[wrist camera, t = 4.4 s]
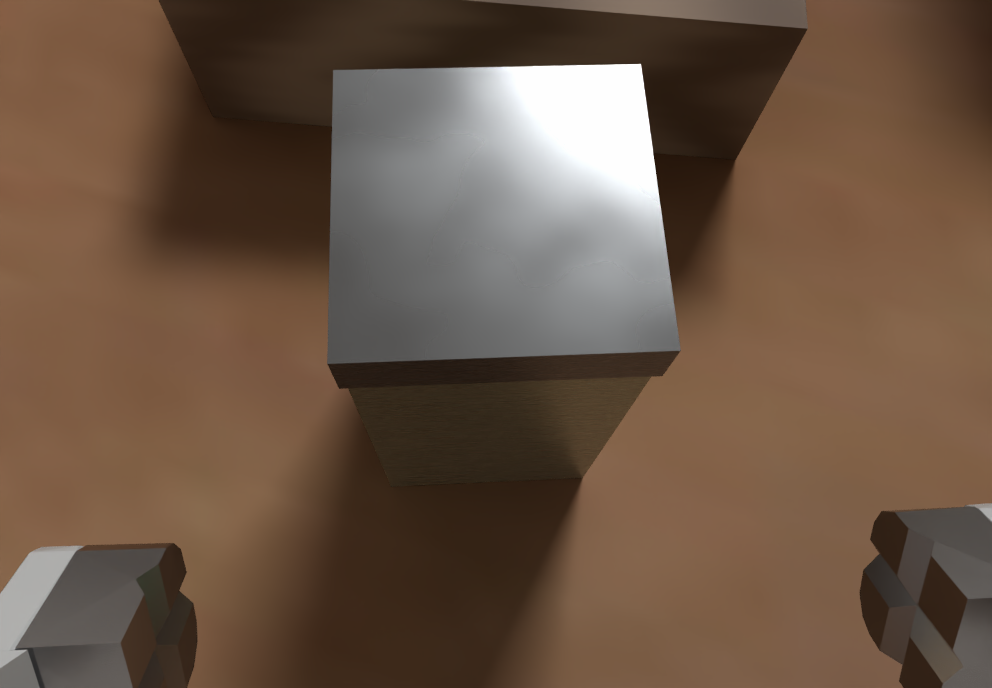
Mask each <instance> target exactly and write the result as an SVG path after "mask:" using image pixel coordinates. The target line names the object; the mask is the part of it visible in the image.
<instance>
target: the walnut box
mask: <svg viewBox="0 0 992 688" xmlns="http://www.w3.org/2000/svg"><path fill="white" fill-rule="evenodd" d="M159 2H160V4H161V6H162V9H163V11H164V13H165V15H166V17H167V19H168V21H169V24H170V26H171V28H172V30H173V32H174V34H175V36H176V39H177V41H178V43H179V45H180V47H181V49H182V51H183V53H184V56H185V58H186V60H187V62H188V64H189V66H190V68H191V71H192V73H193V75H194V77H195V79H196V81H197V83H198V86H199V88H200V90H201V92H202V94H203V96H204V98H205V101H206V103H207V105H208V107H209V109H210V111H211V113H212V116H213V117H219V118H232V119H244V120H256V121H268V122H281V123H293V124H305V125H317V126H329V127H332V106H333V70H367V69H420V68H473V67H526V66H579V65H632V64H641V70H642V77H643V84H644V91H645V98H646V106H647V113H648V120H649V127H650V134H651V141H652V149H653V153H659V154H671V155H683V156H696V157H708V158H720V159H732V160H736V158H737V156H738V154H739V153H740V151H741V149H742V147H743V145H744V143H745V142H746V140H747V138H748V136H749V134H750V133H751V131H752V129H753V127H754V125H755V123H756V122H757V120H758V118H759V116H760V114H761V113H762V111H763V109H764V107H765V105H766V103H767V102H768V100H769V98H770V96H771V94H772V93H773V91H774V89H775V87H776V85H777V83H778V82H779V80H780V78H781V76H782V74H783V73H784V71H785V69H786V67H787V65H788V63H789V62H790V60H791V58H792V56H793V54H794V53H795V51H796V49H797V47H798V45H799V43H800V42H801V40H802V38H803V36H804V34H805V33H806V31H807V29H808V27H807V14H806V1H805V0H159Z"/></svg>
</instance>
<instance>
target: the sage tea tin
mask: <svg viewBox="0 0 992 688" xmlns="http://www.w3.org/2000/svg"><path fill="white" fill-rule="evenodd" d="M680 351H681V350H680V343H679V336H678V329H677V321H676V314H675V307H674V300H673V293H672V285H671V278H670V271H669V264H668V257H667V249H666V242H665V235H664V228H663V221H662V213H661V206H660V199H659V192H658V185H657V177H656V170H655V163H654V156H653V149H652V141H651V134H650V127H649V120H648V113H647V106H646V98H645V91H644V84H643V77H642V70H641V64H632V65H579V66H526V67H473V68H420V69H367V70H333V106H332V157H331V207H330V258H329V308H328V359H327V364H328V366H329V368H330V370H331V373H332V375H333V377H334V379H335V381H336V383H337V385H338V387H339V389H343V388H348V389H349V392H350V394H351V396H352V398H353V401H354V403H355V405H356V407H357V410H358V412H359V414H360V417H361V419H362V421H363V423H364V426H365V428H366V430H367V433H368V435H369V437H370V439H371V442H372V444H373V446H374V449H375V451H376V453H377V455H378V458H379V460H380V462H381V465H382V467H383V469H384V471H385V474H386V476H387V478H388V481H389V483H390V485H391V487H394V486H416V485H438V484H460V483H482V482H504V481H526V480H548V479H570V478H583V477H584V475H585V474H586V472H587V471H588V469H589V468H590V466H591V465H592V463H593V462H594V460H595V459H596V457H597V456H598V455H599V453H600V452H601V450H602V449H603V447H604V446H605V444H606V443H607V441H608V440H609V438H610V437H611V435H612V434H613V432H614V431H615V429H616V428H617V427H618V425H619V424H620V422H621V421H622V419H623V418H624V416H625V415H626V413H627V412H628V410H629V409H630V407H631V406H632V404H633V403H634V401H635V400H636V399H637V397H638V396H639V394H640V393H641V391H642V390H643V388H644V387H645V385H646V384H647V382H648V381H649V379H650V378H651V376H663V374H664V373H665V372H666V370H667V369H668V367H669V366H670V365H671V363H672V362H673V361H674V359H675V358H676V356H677V355H678V354H679V352H680Z"/></svg>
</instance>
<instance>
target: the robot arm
mask: <svg viewBox="0 0 992 688" xmlns="http://www.w3.org/2000/svg"><path fill="white" fill-rule="evenodd" d="M870 540H871V542H872V543H873V545H874V546H875V548H876V549H877V551H878V552H879V555H878V556H877V557H876V558H875V559H874V560H873V561H872V562H871V563H870V564H869V565H868V566H867V567H866V568H865V569H864V570H863V576H862V581H861V587H860V600H861V608H862V616H863V619H864V621H865V624H866V627H867V629H868V632H869V634H870V636H871V637H872V639H873V641H874V642H875V644H876V646H877V647H878V649H879V650H880V651H881V652H883V653H884V654H886V655H888V656H889V657H891V658H892V659H894V660H895V661H897V662H899V663H900V664H902V669H901V674H900V679H899V682H900V683H901V685H902V686H903V688H992V503H990V504H976V505H965V506H964V507H952V508H932V509H912V510H892V511H881V513H880V514H879V516H878V517H877V519H876V520H875V521H874V525H873V529H872V533H871V538H870ZM186 573H187V571H186V567H185V563H184V560H183V556H182V552H181V549H180V548H179V547H178V546H177V545H175V544H174V543H155V544H115V545H86V546H58V547H41V548H38V549H36V550H34V551H32V552H30V553H29V554H28V555H27V557H26V558H25V560H24V561H23V562H22V564H21V565H20V567H19V568H18V569H17V571H16V572H15V574H14V575H13V576H12V578H11V579H10V581H9V582H8V583H7V585H6V586H5V588H4V589H3V590H2V592H1V593H0V688H187V686H188V683H189V680H190V677H191V674H192V671H193V668H194V663H195V656H196V648H197V620H196V615H195V610H194V605H193V603H192V602H191V601H190V600H189V599H188V598H187V597H186V596H184V595H183V594H182V593H181V592H180V591H179V590H180V587H181V585H182V582H183V580H184V578H185V575H186Z"/></svg>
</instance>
